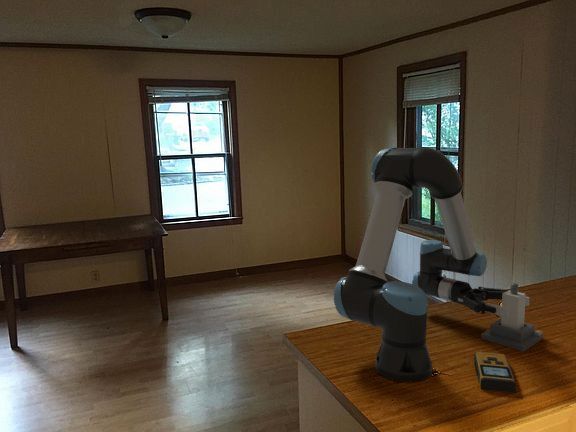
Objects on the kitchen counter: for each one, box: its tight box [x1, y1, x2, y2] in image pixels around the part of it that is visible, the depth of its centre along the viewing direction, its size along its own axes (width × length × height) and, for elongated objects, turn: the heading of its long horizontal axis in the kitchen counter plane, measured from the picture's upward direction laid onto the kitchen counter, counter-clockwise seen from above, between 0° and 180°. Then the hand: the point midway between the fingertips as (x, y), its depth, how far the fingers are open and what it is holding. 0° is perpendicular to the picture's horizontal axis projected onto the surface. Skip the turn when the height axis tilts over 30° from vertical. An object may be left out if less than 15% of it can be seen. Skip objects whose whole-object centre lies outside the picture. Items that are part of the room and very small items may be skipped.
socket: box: [480, 318, 544, 352], centre depth 150 cm, size 13×13×4 cm
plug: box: [500, 282, 527, 330], centre depth 148 cm, size 4×5×16 cm
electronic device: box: [473, 351, 517, 394], centre depth 128 cm, size 9×16×4 cm, turn 164°
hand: (518, 307), depth 147 cm, fingers open, 13 cm apart
